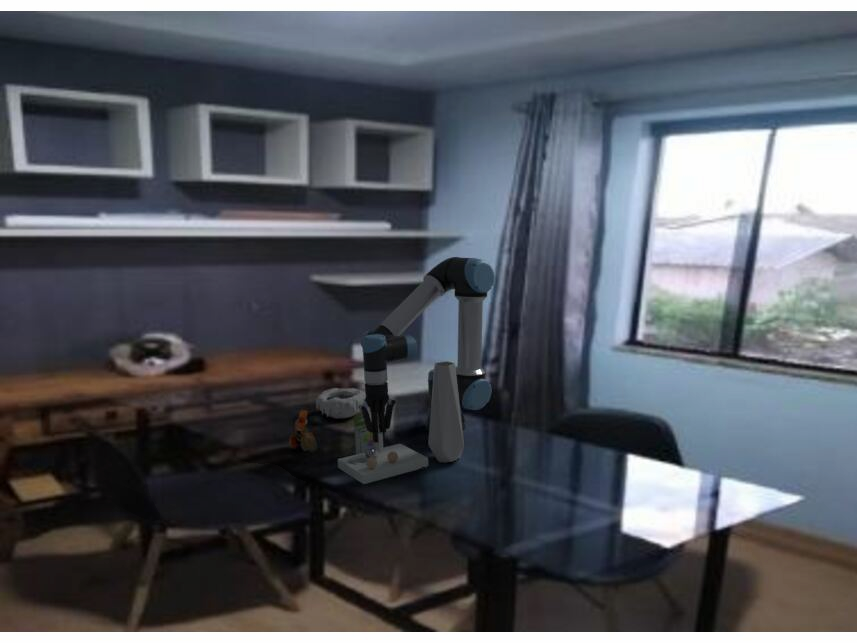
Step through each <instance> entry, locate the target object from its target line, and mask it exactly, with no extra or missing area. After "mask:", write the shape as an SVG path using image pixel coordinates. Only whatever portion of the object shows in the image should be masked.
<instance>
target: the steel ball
mask: <svg viewBox="0 0 857 643" xmlns="http://www.w3.org/2000/svg"><path fill="white" fill-rule="evenodd" d="M375 454H376V452H375V450H374V449H373V448H368V449H366V451H365V455H366V457H367V458H371V457H372V458H373V457H374V456H375Z"/></svg>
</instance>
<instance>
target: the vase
mask: <svg viewBox="0 0 857 643" xmlns="http://www.w3.org/2000/svg"><path fill="white" fill-rule="evenodd" d="M455 367H456V363H455V362H453V361H452V362H451V361H448V360H447V361H438V362H434V367H433V369H434V377H433V389H432V402H431V414H430V427H429V431H428V447H429V448H430V450H431V452H432V454H433V455H434V457H435V459H436V460H437V462H438V461H439V463H447V462H451V461H455V460H456V461H458V460H459V459H460V458H461V457H462V454H463V451H464V447H465V442H464V440H465V439H464V432H463V431H464V429H463V430H462V421H461V412H460V408H461V407H460V403H459V394H458V385H457V376H456V368H455ZM458 458H459V459H458ZM457 459H458V460H457ZM444 461H445V462H444ZM456 461H455V462H456Z"/></svg>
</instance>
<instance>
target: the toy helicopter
mask: <svg viewBox="0 0 857 643" xmlns="http://www.w3.org/2000/svg"><path fill="white" fill-rule="evenodd" d="M308 414H309V413H308V410H303V409H302V410H300V411H299V415H298V418H297V419H296V420H295V421H294V430H295V435H291V436H289V437H288V445H289V444H290V445H291V447H292V448H296V449H297V448H298V445H299V447H300V448H301V449H302V451H303V450H304V451H305V450H309V449H310V450H309V452H315V451H317V450H318V444H317V440H316V438H315V436H314V435H313V433H312V432H308V428H307V426H306V425H308V419H307V418H308ZM297 444H298V445H297ZM290 445H289V446H290ZM304 451H303V452H304Z"/></svg>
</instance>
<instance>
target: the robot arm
mask: <svg viewBox="0 0 857 643" xmlns="http://www.w3.org/2000/svg"><path fill="white" fill-rule="evenodd" d="M422 279H423V280H422V282H421V283H420V284H419V285H417V287H416V288H415V289H414V290H413V291H412V292H411V293H410V294H409V295H408V296H407V297H406V298H405V299H404V300H403V301H402V302H401V303H400V304H399V305H398V306H397V307H396V308H395V309H394V310H393V311H392V312H391V313H390V314H389V315H388V316H387V317H386V318H385V319H384V320H383V321H382V322H380V324H379V325H378V326H377V327H376V328H375V329H374V330H367V331H365V332H363V334H362V335H361V337H360V342H359V343H360V346H361V349H362V360H363V374H364V376H363V378H364V382H365V383H364V391H365V394H366V398H365V402H364V403H363V404H362V405H359V409H360V410H361V411H360V412H361V414H362V415H363V418H362V419H363V421H365V425H366V428H367V431H369V432H371V433H373V441H374V442H375V446H376V451H378V452H384V450H383V448H384V442H385V441H386V433H387V430H390V428H391V423H392V416H393V410H394V407H395V404H396V402H397V400H395V399H393V398H390V396H389V394H388V393H389V383H388V382H387V381H388V363H390V362H394V361H399V360H404V359H406V360H407V359H408V358H412V357H415V355H416V353H417V352H418V344H417V340H416V339H415V337H413V336H412V335H409V334H407V335H406V334H404V335H401V334H402V333H403V332H405V330H406V329H407V328H408V327H409V326H411V324H412V323H413V322H415V320H416V319H417V318H418V317H420V315H421V314H422V313H423V312H424V311H426V309H427V308H428V307H429V306H430V305H431V304H433V302H434V301H435V300H436V299H437V298H438V297H442V296H444V295H445V294H446V293H447V292H448V291H450V290H454V297H455V298H456V300H457V301H458V315H457V316H458V320H457V321H458V322H457V366H455V368H456V376H457V385H458V394H459V403H460V412H461V421H462V430H463V431H464V430H465V429H466V427H467V426H466V419H465V416H464V414H463V411H462V409H461V408H463V409H465V410H472V411H477V410H478V411H479V410H481V409H484V407H485V406H486V404H487V403H489V401H490V399H491V397H492V396H491V395H492V390H493V389H492V385H491V383H490V382H489V381H488V380H487V379H486V370H484V369H483V367H482V355H483V352H482V351H483V350H482V349H483V346H482V345H483V312H484V311H483V310H484V309H483V307H484V301H485V299H487V297H488V292H490V290H491V289H492V287H493V286H494V284H495V271H494V269H493V267H492V266H491V265H490V264H489V262H488V261H487V260H485V259H480V258H476V257H459V256H452V257H449V258H446V259H444V260H443V261H441V262H439V263H438V264H436V265H435V266H434V267H432V268H431V269H430V270H429V271H428V272H427V273H426V274H425V275H424V276H423V278H422ZM427 376H428V377H427V386H428V403H429V408H428V412H427V415H426V416H427V417H426V420H425V429H426V430H427V432H429V427H430V414H431V402H432V389H433V377H434V368H433V369H430V370H429V371H428V374H427ZM368 409H369V410H368ZM369 412H370V413H369ZM362 415H361V416H362Z"/></svg>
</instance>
